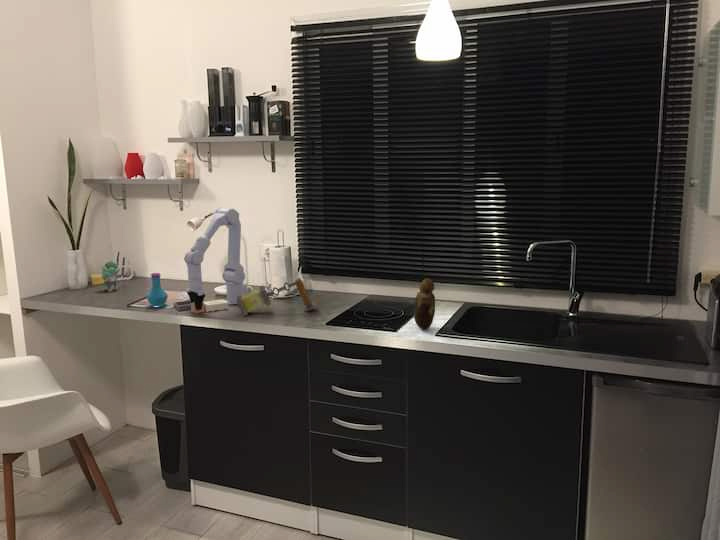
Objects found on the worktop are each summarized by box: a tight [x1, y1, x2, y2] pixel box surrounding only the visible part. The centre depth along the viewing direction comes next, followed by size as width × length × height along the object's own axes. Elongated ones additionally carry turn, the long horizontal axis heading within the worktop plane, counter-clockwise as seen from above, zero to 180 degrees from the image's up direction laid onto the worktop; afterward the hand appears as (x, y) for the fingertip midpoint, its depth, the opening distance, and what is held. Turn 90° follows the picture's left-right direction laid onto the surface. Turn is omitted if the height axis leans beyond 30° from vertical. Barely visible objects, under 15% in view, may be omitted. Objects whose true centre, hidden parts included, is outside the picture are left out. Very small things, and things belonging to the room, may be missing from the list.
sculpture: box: [413, 278, 436, 330], centre depth 241 cm, size 13×8×20 cm, turn 167°
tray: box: [173, 299, 191, 312], centre depth 282 cm, size 9×9×2 cm
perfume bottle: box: [146, 272, 169, 307], centre depth 285 cm, size 9×9×15 cm
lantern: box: [236, 277, 317, 317], centre depth 271 cm, size 8×17×30 cm
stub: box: [190, 302, 206, 314], centre depth 274 cm, size 4×5×4 cm
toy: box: [101, 260, 120, 293], centre depth 318 cm, size 8×9×15 cm
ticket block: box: [203, 298, 229, 313], centre depth 278 cm, size 10×7×3 cm
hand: (196, 308), depth 274 cm, fingers open, 5 cm apart
